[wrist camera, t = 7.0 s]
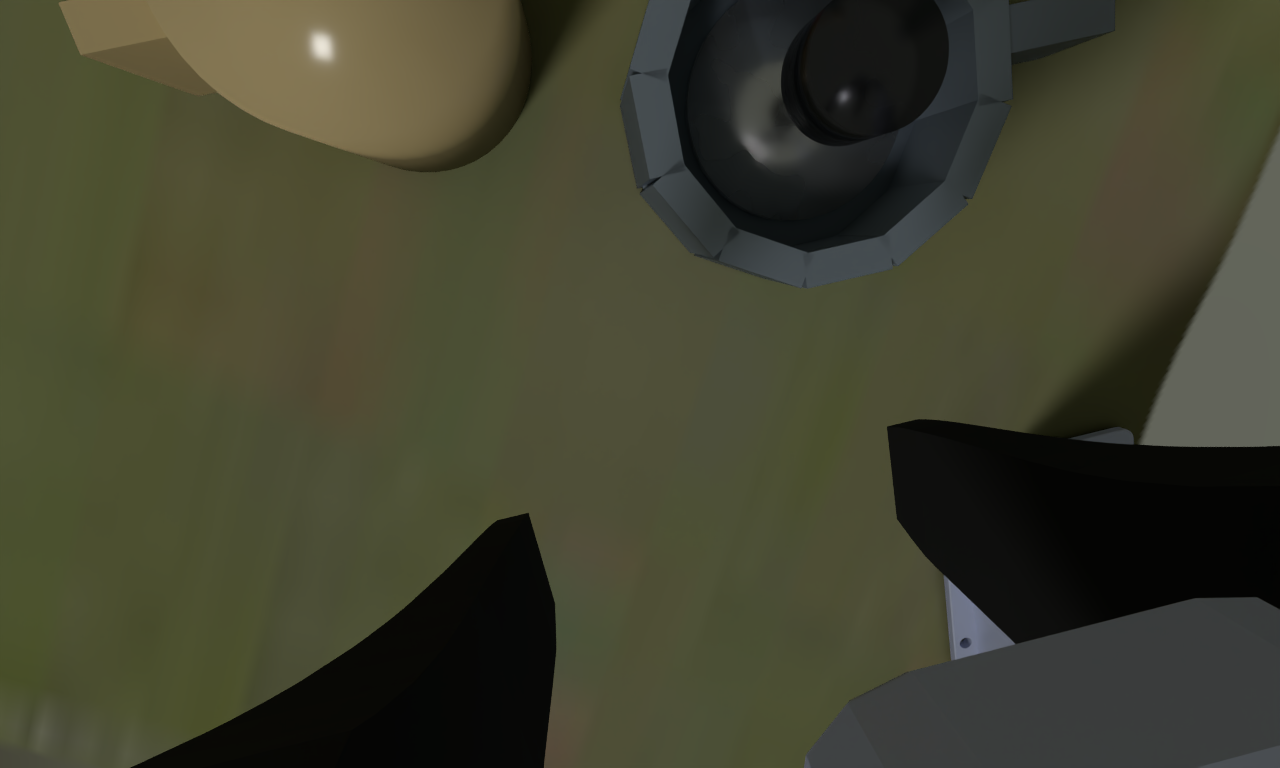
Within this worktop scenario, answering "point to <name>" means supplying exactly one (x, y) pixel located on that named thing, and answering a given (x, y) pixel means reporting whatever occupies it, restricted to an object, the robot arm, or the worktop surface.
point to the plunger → (809, 98)
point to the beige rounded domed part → (334, 67)
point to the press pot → (909, 179)
